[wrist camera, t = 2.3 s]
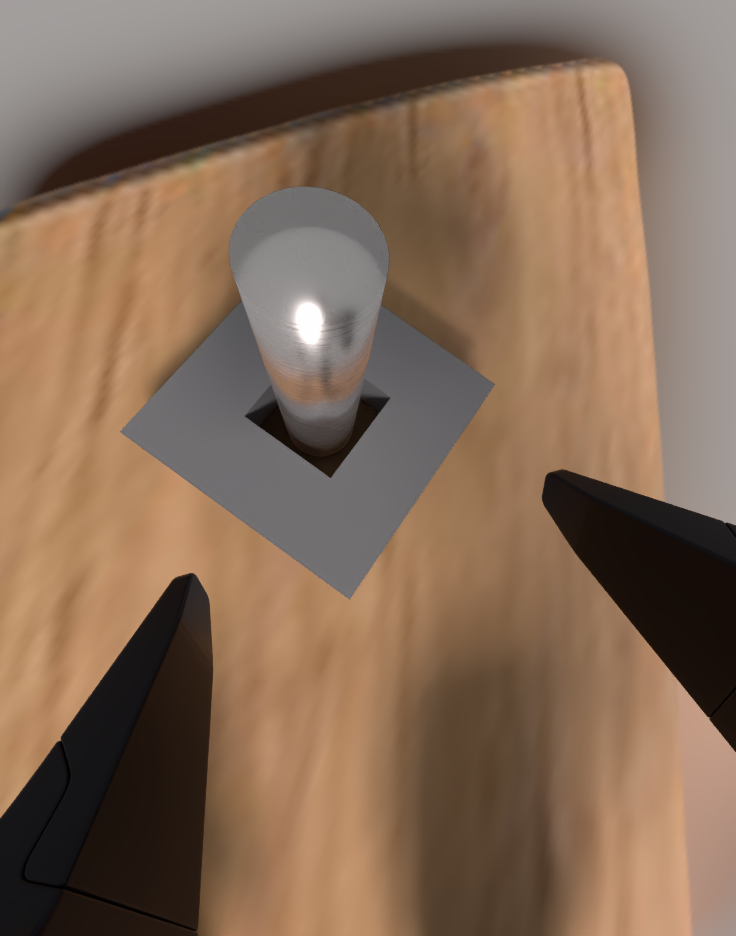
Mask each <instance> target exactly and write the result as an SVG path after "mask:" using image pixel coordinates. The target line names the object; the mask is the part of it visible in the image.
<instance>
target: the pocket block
mask: <svg viewBox="0 0 736 936" xmlns="http://www.w3.org/2000/svg"><path fill="white" fill-rule="evenodd" d="M494 385H495V384H494V383H492V382H491V381H490V380H488V379H487V378H485V377H484V376H482V375H481V374H480V373H478V372H477V371H475V370H474V369H472V368H471V367H469V366H468V365H467V364H465V363H464V362H462V361H461V360H459V359H458V358H457V357H455V356H454V355H452V354H451V353H449V352H448V351H447V350H445V349H444V348H442V347H441V346H439V345H438V344H436V343H435V342H434V341H432V340H431V339H429V338H428V337H426V336H425V335H424V334H422V333H421V332H419V331H418V330H416V329H415V328H414V327H412V326H411V325H409V324H408V323H406V322H405V321H403V320H402V319H401V318H399V317H398V316H396V315H395V314H393V313H392V312H391V311H389V310H388V309H386V308H385V307H383V306H382V305H381V306H380V310H379V315H378V319H377V324H376V328H375V333H374V338H373V342H372V347H371V351H370V356H369V360H368V365H367V369H366V374H365V378H364V383H363V387H362V392H361V396H360V400H362V401H363V402H365V403H366V404H367V405H369V406H370V407H372V408H373V409H375V410H376V411H377V412H379V414H378V416H377V417H376V418H375V420H374V421H373V422H372V424H371V425H370V426H369V428H368V429H367V430H366V432H365V433H364V434H363V436H362V437H361V438H360V440H359V441H358V442H357V444H356V445H355V446H354V448H353V449H352V450H351V452H350V453H349V454H348V456H347V457H346V458H345V460H344V461H343V462H342V464H341V465H340V466H339V468H338V469H337V470H336V472H335V473H334V474H333V476H332V477H331V478H330V477H328V476H327V475H325V474H324V473H323V472H321V471H320V470H318V469H317V468H316V467H314V466H313V465H312V464H310V463H309V462H307V461H306V460H305V459H303V458H302V457H300V456H299V455H298V454H296V453H295V452H293V451H292V450H291V449H289V448H288V447H286V446H285V445H284V444H282V443H281V442H279V441H278V440H277V439H275V438H274V437H273V436H271V435H270V434H268V433H267V432H266V431H264V430H263V429H261V428H260V426H261V425H262V423H263V422H264V421H265V420H266V419H267V417H268V416H269V415H270V414H271V413H272V411H273V410H274V409H275V408H276V407H277V405H278V403H277V400H276V397H275V394H274V391H273V388H272V385H271V382H270V379H269V377H268V374H267V371H266V368H265V365H264V362H263V359H262V356H261V353H260V351H259V348H258V345H257V342H256V339H255V336H254V333H253V330H252V327H251V325H250V322H249V319H248V316H247V313H246V310H245V307H244V304H243V302H242V301H241V302H240V303H239V304H238V305H237V306H236V307H235V308H234V309H233V310H232V312H231V313H230V314H229V315H228V316H227V317H226V318H225V319H224V320H223V321H222V322H221V323H220V324H219V326H218V327H217V328H216V329H215V330H214V331H213V332H212V333H211V334H210V335H209V336H208V337H207V338H206V340H205V341H204V342H203V343H202V344H201V345H200V346H199V347H198V348H197V349H196V350H195V351H194V352H193V354H192V355H191V356H190V357H189V358H188V359H187V360H186V361H185V362H184V363H183V364H182V365H181V367H180V368H179V369H178V370H177V371H176V372H175V373H174V374H173V375H172V376H171V377H170V378H169V379H168V381H167V382H166V383H165V384H164V385H163V386H162V387H161V388H160V389H159V390H158V391H157V392H156V393H155V395H154V396H153V397H152V398H151V399H150V400H149V401H148V402H147V403H146V404H145V405H144V406H143V407H142V409H141V410H140V411H139V412H138V413H137V414H136V415H135V416H134V417H133V418H132V419H131V420H130V421H129V423H128V424H127V425H126V426H125V427H124V428H123V429H122V430H121V431H120V432H121V433H122V434H124V435H125V436H126V437H128V438H129V439H130V440H132V441H133V442H134V443H136V444H137V445H139V446H140V447H141V448H143V449H144V450H145V451H147V452H148V453H150V454H151V455H152V456H154V457H155V458H156V459H158V460H159V461H161V462H162V463H163V464H165V465H166V466H167V467H169V468H170V469H171V470H173V471H174V472H176V473H177V474H178V475H180V476H181V477H182V478H184V479H185V480H187V481H188V482H189V483H191V484H192V485H193V486H195V487H196V488H198V489H199V490H200V491H202V492H203V493H204V494H206V495H207V496H208V497H210V498H211V499H213V500H214V501H215V502H217V503H218V504H219V505H221V506H222V507H224V508H225V509H226V510H228V511H229V512H230V513H232V514H233V515H235V516H236V517H237V518H239V519H240V520H241V521H243V522H244V523H245V524H247V525H248V526H250V527H251V528H252V529H254V530H255V531H256V532H258V533H259V534H261V535H262V536H263V537H265V538H266V539H267V540H269V541H270V542H272V543H273V544H274V545H276V546H277V547H278V548H280V549H281V550H282V551H284V552H285V553H287V554H288V555H289V556H291V557H292V558H293V559H295V560H296V561H298V562H299V563H300V564H302V565H303V566H304V567H306V568H307V569H309V570H310V571H311V572H313V573H314V574H315V575H317V576H318V577H319V578H321V579H322V580H324V581H325V582H326V583H328V584H329V585H330V586H332V587H333V588H335V589H336V590H337V591H339V592H340V593H341V594H343V595H344V596H346V597H347V598H348V599H350V598H351V597H352V595H353V594H354V592H355V591H356V589H357V588H358V586H359V585H360V583H361V582H362V580H363V579H364V578H365V576H366V575H367V573H368V572H369V570H370V569H371V567H372V566H373V564H374V563H375V561H376V560H377V558H378V557H379V555H380V554H381V552H382V551H383V549H384V548H385V546H386V545H387V543H388V542H389V540H390V539H391V538H392V536H393V535H394V533H395V532H396V530H397V529H398V527H399V526H400V524H401V523H402V521H403V520H404V518H405V517H406V515H407V514H408V512H409V511H410V509H411V508H412V506H413V505H414V503H415V502H416V501H417V499H418V498H419V496H420V495H421V493H422V492H423V490H424V489H425V487H426V486H427V484H428V483H429V481H430V480H431V478H432V477H433V475H434V474H435V472H436V471H437V469H438V468H439V466H440V465H441V463H442V462H443V461H444V459H445V458H446V456H447V455H448V453H449V452H450V450H451V449H452V447H453V446H454V444H455V443H456V441H457V440H458V438H459V437H460V435H461V434H462V432H463V431H464V429H465V428H466V426H467V425H468V424H469V422H470V421H471V419H472V418H473V416H474V415H475V413H476V412H477V410H478V409H479V407H480V406H481V404H482V403H483V401H484V400H485V398H486V397H487V395H488V394H489V392H490V391H491V389H492V388H493V386H494Z"/></svg>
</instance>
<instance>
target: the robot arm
mask: <svg viewBox="0 0 736 936" xmlns="http://www.w3.org/2000/svg"><path fill="white" fill-rule="evenodd" d="M542 501H543V504H544V506H545V508H546V509H547V511H548V513H549V514H550V516H551V517H552V519H553V520H554V522H555V523H556V525H557V526H558V528H559V529H560V531H561V532H562V534H563V536H564V537H565V539H566V540H567V542H568V543H569V545H570V546H571V548H572V549H573V550H574V552H575V553H576V555H577V556H578V557H579V558H580V560H581V561H582V562H583V563H584V565H585V566H586V567H587V568H588V570H589V571H590V572H591V573H592V575H593V576H594V577H595V578H596V580H597V581H598V582H599V583H600V584H601V586H602V587H603V588H604V589H605V591H606V592H607V593H608V594H609V596H610V597H611V598H612V599H613V601H614V602H615V603H616V604H617V606H618V607H619V608H620V609H621V610H622V612H623V613H624V614H625V615H626V617H627V618H628V619H629V620H630V622H631V623H632V624H633V625H634V627H635V628H636V629H637V630H638V631H639V633H640V634H641V635H642V636H643V638H644V639H645V640H646V641H647V643H648V644H649V645H650V646H651V648H652V649H653V650H654V651H655V653H656V654H657V655H658V656H659V657H660V659H661V660H662V661H663V662H664V664H665V665H666V666H667V667H668V669H669V670H670V671H671V672H672V674H673V675H674V676H675V677H676V678H677V680H678V681H679V682H680V683H681V685H682V686H683V687H684V688H685V690H686V691H687V692H688V693H689V695H690V696H691V697H692V698H693V699H694V701H695V702H696V703H697V704H698V706H699V707H700V708H701V709H702V711H703V712H704V713H705V714H706V716H707V717H710V718H709V719H710V721H711V722H712V723H713V725H714V726H715V727H716V728H717V729H718V730H719V732H720V733H721V734H722V736H723V737H724V738H725V739H726V741H727V742H728V743H729V744H730V746H731V747H732V748H733V749H734V751H735V752H736V525H733V524H730V523H724V522H723V521H721V520H717V519H715V518H711V517H708V516H705V515H702V514H699V513H696V512H693V511H690V510H687V509H684V508H680V507H677V506H674V505H672V504H668V503H665V502H662V501H659V500H656V499H653V498H650V497H647V496H644V495H641V494H638V493H635V492H632V491H629V490H625V489H622V488H619V487H616V486H613V485H610V484H607V483H604V482H601V481H598V480H595V479H592V478H589V477H586V476H583V475H579V474H576V473H573V472H570V471H567V470H563V469H561V470H557V471H553V472H550V473H548V474H547V475H546V477H545V482H544V488H543V493H542ZM212 683H213V653H212V636H211V619H210V604H209V598H208V595H207V593H206V592H205V590H204V588H203V586H202V585H201V583H200V581H199V579H198V578H197V576H196V575H195V574H194V573H189V574H185V575H182V576H178V577H176V578H174V579H173V580H172V582H171V583H170V584H169V586H168V587H167V589H166V590H165V591H164V593H163V594H162V596H161V597H160V598H159V600H158V601H157V603H156V604H155V605H154V607H153V608H152V610H151V611H150V612H149V614H148V615H147V617H146V618H145V619H144V621H143V622H142V624H141V625H140V626H139V628H138V629H137V631H136V632H135V633H134V635H133V636H132V638H131V639H130V640H129V642H128V643H127V645H126V646H125V647H124V649H123V650H122V652H121V653H120V654H119V656H118V657H117V659H116V660H115V661H114V663H113V664H112V666H111V667H110V668H109V670H108V671H107V673H106V674H105V675H104V677H103V678H102V680H101V681H100V682H99V684H98V685H97V687H96V688H95V689H94V691H93V692H92V694H91V695H90V696H89V698H88V699H87V701H86V702H85V703H84V705H83V706H82V708H81V709H80V711H79V712H78V713H77V715H76V716H75V718H74V719H73V720H72V722H71V723H70V725H69V726H68V727H67V729H66V730H65V732H64V733H63V734H62V736H61V741H58V742H57V743H56V744H55V745H54V747H53V748H52V749H51V751H50V752H49V754H48V755H47V756H46V758H45V759H44V761H43V762H42V763H41V765H40V766H39V768H38V769H37V770H36V772H35V773H34V774H33V776H32V777H31V778H30V780H29V781H28V782H27V784H26V785H25V787H24V788H23V789H22V791H21V792H20V793H19V795H18V796H17V797H16V799H15V800H14V801H13V803H12V804H11V805H10V806H9V808H8V809H7V810H6V812H5V813H4V814H3V815H2V817H1V818H0V936H198V932H196V931H197V929H198V919H199V902H200V886H201V869H202V852H203V835H204V818H205V801H206V784H207V768H208V751H209V734H210V717H211V700H212Z"/></svg>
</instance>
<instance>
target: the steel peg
mask: <svg viewBox="0 0 736 936" xmlns="http://www.w3.org/2000/svg"><path fill="white" fill-rule="evenodd" d="M229 261H230V266H231V270H232V273H233V276H234V278H235V281H236V284H237V287H238V290H239V293H240V296H241V299H242V302H243V304H244V307H245V310H246V313H247V316H248V319H249V322H250V325H251V327H252V330H253V333H254V336H255V339H256V342H257V345H258V348H259V351H260V353H261V356H262V359H263V362H264V365H265V368H266V371H267V374H268V377H269V379H270V382H271V385H272V388H273V391H274V394H275V397H276V400H277V403H278V405H279V408H280V411H281V414H282V417H283V420H284V423H285V426H286V429H287V431H288V434H289V437H290V439H291V441H292V442H293V443H294V445H295V446H296V447H297V448H298V449H300V450H301V451H303V452H304V453H307V454H309V455H313V456H328V455H331V454H334V453H336V452H338V451H340V450H341V449H342V448H343V447H344V446H345V445H346V444H347V443H348V441H349V440H350V438H351V436H352V432H353V428H354V424H355V419H356V415H357V410H358V405H359V401H360V396H361V392H362V387H363V383H364V378H365V374H366V369H367V365H368V360H369V356H370V351H371V347H372V342H373V338H374V333H375V328H376V324H377V319H378V315H379V310H380V306H381V301H382V297H383V292H384V288H385V283H386V279H387V274H388V268H389V252H388V246H387V243H386V239H385V237H384V234H383V232H382V230H381V228H380V227H379V225H378V223H377V222H376V221H375V220H374V218H373V217H372V216H371V215H370V214H369V213H368V212H367V211H366V210H365V209H364V208H363V207H362V206H360V205H359V204H358V203H356V202H355V201H353V200H351V199H350V198H348V197H346V196H344V195H342V194H340V193H337V192H334V191H331V190H327V189H322V188H316V187H293V188H287V189H282V190H279V191H276V192H273V193H270V194H268V195H266V196H264V197H262V198H261V199H259V200H258V201H256V202H255V203H253V204H252V205H251V206H250V207H249V208H248V209H247V210H246V211H245V212H244V213H243V214H242V215H241V217H240V218H239V220H238V221H237V223H236V225H235V227H234V229H233V232H232V235H231V239H230V244H229Z"/></svg>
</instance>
